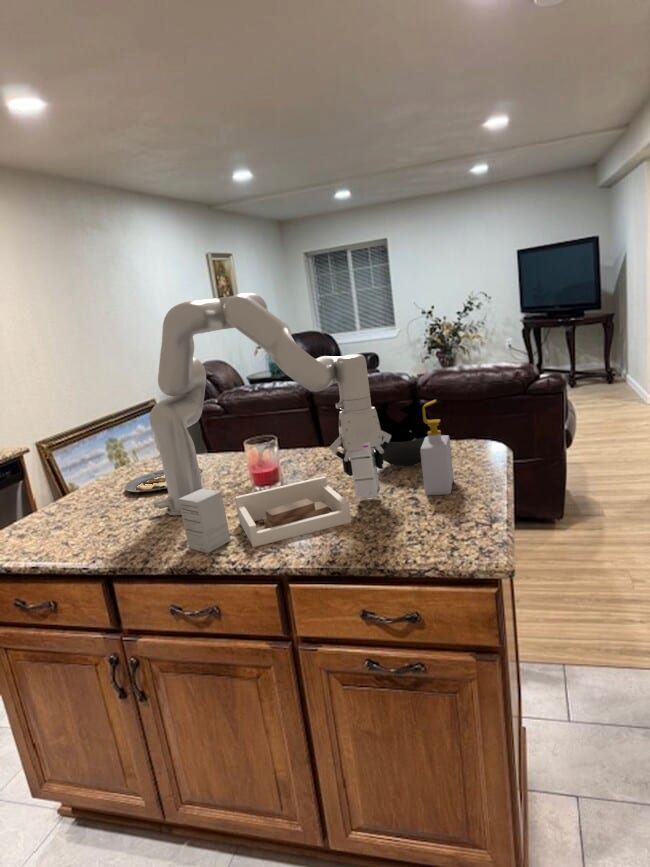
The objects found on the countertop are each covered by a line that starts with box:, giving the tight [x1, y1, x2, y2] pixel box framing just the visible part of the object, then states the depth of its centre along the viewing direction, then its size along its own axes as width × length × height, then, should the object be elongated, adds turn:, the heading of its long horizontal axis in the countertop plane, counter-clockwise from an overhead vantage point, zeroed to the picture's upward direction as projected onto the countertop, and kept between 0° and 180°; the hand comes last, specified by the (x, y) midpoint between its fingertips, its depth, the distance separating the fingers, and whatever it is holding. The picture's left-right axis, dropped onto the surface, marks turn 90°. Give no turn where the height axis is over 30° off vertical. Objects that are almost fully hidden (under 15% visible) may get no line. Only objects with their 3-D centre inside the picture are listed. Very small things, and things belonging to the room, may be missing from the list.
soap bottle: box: [420, 399, 454, 496], centre depth 155 cm, size 12×7×23 cm, turn 165°
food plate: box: [124, 467, 203, 493], centre depth 200 cm, size 25×23×4 cm
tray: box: [234, 476, 352, 548], centre depth 148 cm, size 24×18×7 cm
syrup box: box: [349, 442, 381, 500], centre depth 154 cm, size 6×6×14 cm
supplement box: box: [178, 488, 232, 554], centre depth 140 cm, size 7×7×13 cm
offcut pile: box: [256, 498, 332, 531], centre depth 145 cm, size 18×6×6 cm, turn 116°
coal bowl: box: [374, 402, 432, 468], centre depth 179 cm, size 20×20×19 cm
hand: (364, 470), depth 154 cm, fingers closed on syrup box, 7 cm apart
